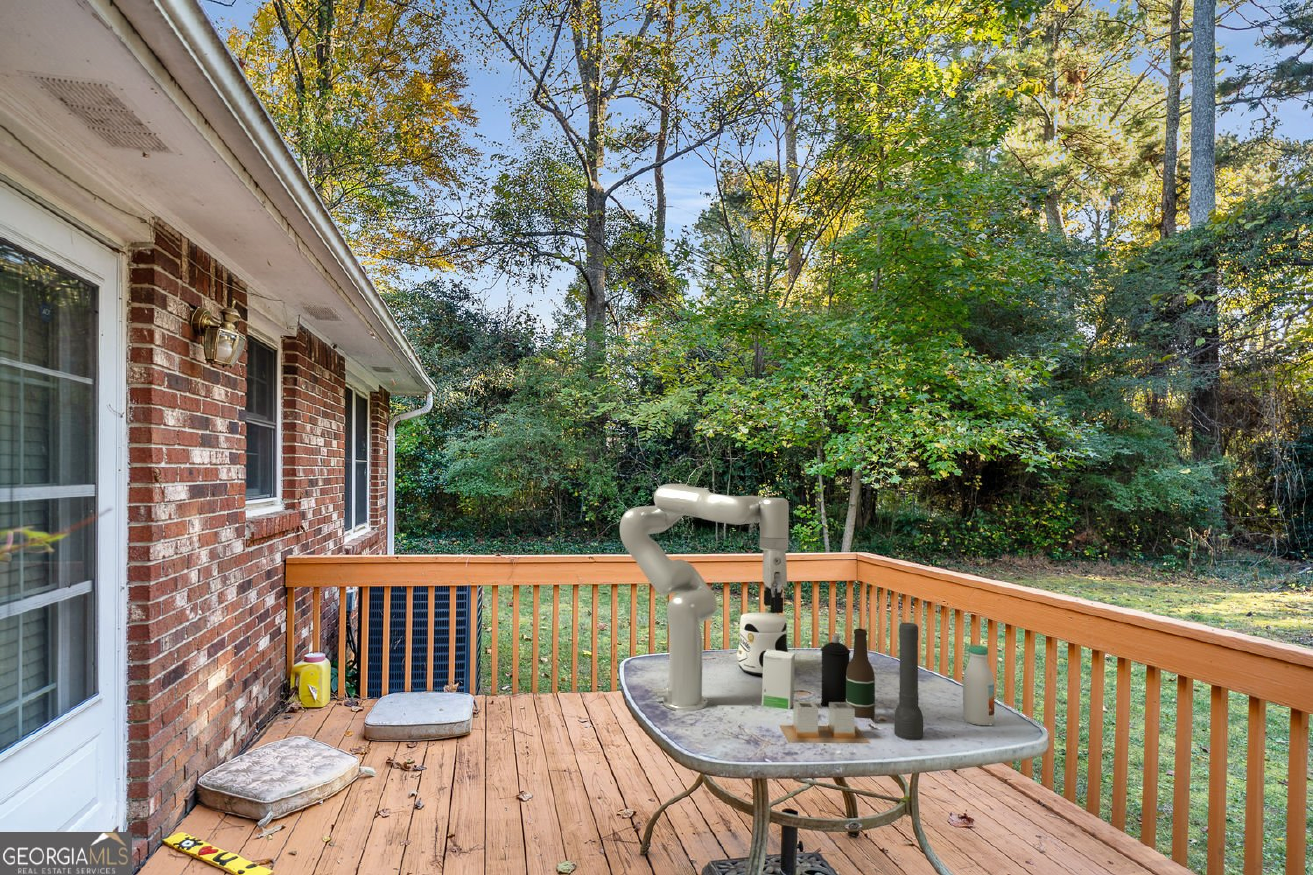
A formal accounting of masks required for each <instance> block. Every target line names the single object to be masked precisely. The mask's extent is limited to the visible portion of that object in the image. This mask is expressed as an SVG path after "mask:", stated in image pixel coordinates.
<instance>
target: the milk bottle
mask: <svg viewBox="0 0 1313 875" xmlns="http://www.w3.org/2000/svg"><path fill="white" fill-rule="evenodd" d="M968 652H969V653H968V654H969V660H968V663H967V665H966V666H965V669H964V672H963V678H962V679H963V680H962V681H963V682H962V717H963V720H964V721H966V722H967V723H969V724H971V725H974V724H977V725H976V726H980V725H990V724H993V725H994V724H995V715H996V714H995V711H996V710H995V679H994V673H993V672H992V670H991V668H990V664H989V663H988V658H987V657H989V655H988V652H989V651H988V647H987V646H984V645H976V644H972V645H969V648H968Z"/></svg>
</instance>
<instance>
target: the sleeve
mask: <svg viewBox="0 0 1313 875" xmlns="http://www.w3.org/2000/svg"><path fill="white" fill-rule="evenodd" d="M855 719H856V717H855V709H854V708H853V707H852V706H851V705H850V703H849V702H829V707H828V725H827V726H828V731H829V732H830V733H831V735H832V736H833V738H855V726H856V725H855V724H856V723H855V721H856V720H855Z"/></svg>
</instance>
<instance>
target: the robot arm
mask: <svg viewBox="0 0 1313 875" xmlns="http://www.w3.org/2000/svg"><path fill="white" fill-rule="evenodd" d="M653 502H654V505H644V506H637V507H632V508H630V509H628V510H627V511H625V513H624V514H623V515H622V516H621V520H620V523H619V535H620V540H621V542H622V545H623V546H624V547H625V549H626V551H627V552H628V554H630V556H631V557H632V559H633V560H634V561H635V562H636V563H637V565H638V567H639V568H640V570H641V571H642V573H643V574H644V576H645V577H646V579H647V580H648V582H649V583H650V585H651V586H652V587H653V589H654V590H655V591H656V592H657V593H658V594H659V595H663V596H666V595H673V594H675V593H677V594H675V595H674V596H672V597H671V598H670V600H669V601H668V603H667V607H666V617H667V624H668V634H669V636H668V637H669V638H668V639H669V640H668V641H669V645H668V647H669V648H668V649H669V654H668V655H669V656H668V659H669V662H668V684H667V685H666V686H667V687H663V688H652V696H653V697H656V698H659V699H662V698H663V702H662V704H663V706H665V707H666V708H668V709H670V710H672V711H673V710H674V711H680V712H681V711H683V712H684V711H685V712H692V711H700V710H702V709H704V708H706V707H707V706H708V699H707V698H706V697H704V696H703V656H704V655H703V647H704V645H703V634H702V631H701V628H700V623H702V622H705V621H707V620H710V619H711V618H713V617H714V616H715V614H716V612H717V610H718V609H717V608H718V603H717V598H716V597H715V594H714V592H713V591H712V590H711V588H710V587H709V585H708V584H707V583H706V581H705V579H704V578H703V577H702V576H701V574H700V573H699V572H698V570H697V569H696V567H694V566H693V565H692V563H690V562H689V561H687V560H684V559H673V560H672V559H670V557H668V555H667V554H666V553H665V551H664V549H662V547H661V545H659V543H657V542H656V541H655V540H654V539H653V538H652V537H650V535H653V534H660V533H664V532H665V531H666V530H668V529H670V528H671V527H672V526H673V525H674V524H675V523H677V522H678V521H679V520H680V519H681V518H683V517H684V516H686V517H687V516H688V517H693V518H700V519H702V520H707V521H712V522H716V523H723V524H728V525H737V526H738V525H745V524H746V525H747V524H757V523H759V550H762V552H763V553H762V581H763V584H764V587H763V588H764V590H763V605H764V606H769V607H770V613H773V614H783V613H784V591H783V590H786V589H787V587H788V569H787V568H788V567H787V554H786V553H787V552H786V551H788V550H789V522H790V520H789V515H790V514H789V513H790V512H789V507H790V506H789V505H790V504H789V501H788V499H786V498H783V497H762V496H757V495H740V496H739V495H738V496H737V495H727V494H719V493H714V492H710V490H709V489H708V488H705V487H696V486H690V485H688V484H685V483H665V484H662V485H660V486H659V487H658V488H657V489H656V490H655V492H654V494H653Z"/></svg>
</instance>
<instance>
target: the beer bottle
mask: <svg viewBox="0 0 1313 875" xmlns="http://www.w3.org/2000/svg"><path fill="white" fill-rule="evenodd" d="M853 634H854V639H853V651H852V652H853V653H852V658H851V660H849V664H848V667H847V671H846V702H849V703H850V705H851V706H852V707H853V708H854V709H855V719H856V718H857V719H870V720H871V721H872V722H875V719H876V718H875V716H876V708H875V707H876V677H875V671H874V668H873V666H872V664H871V662H870V661H869V656H868V642H867V641H868V640H867V639H868V638H867V635H868V631H867V629H865V628H858V627H857V628H854V630H853Z"/></svg>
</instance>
